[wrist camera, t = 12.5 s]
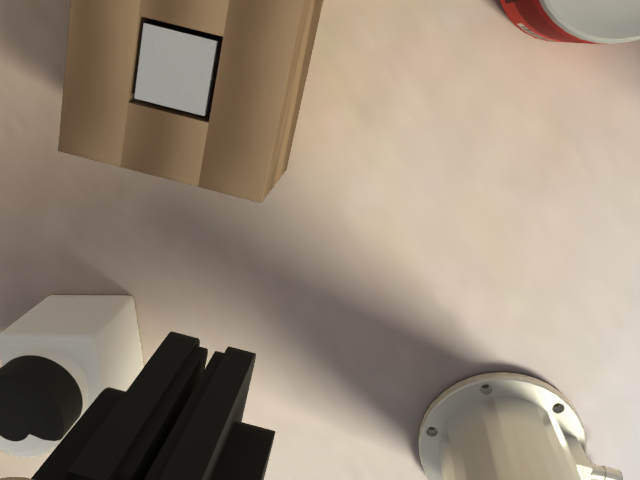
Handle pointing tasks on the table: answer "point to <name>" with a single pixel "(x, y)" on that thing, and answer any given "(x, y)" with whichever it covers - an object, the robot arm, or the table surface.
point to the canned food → (577, 20)
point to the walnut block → (180, 126)
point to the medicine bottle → (63, 366)
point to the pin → (178, 67)
